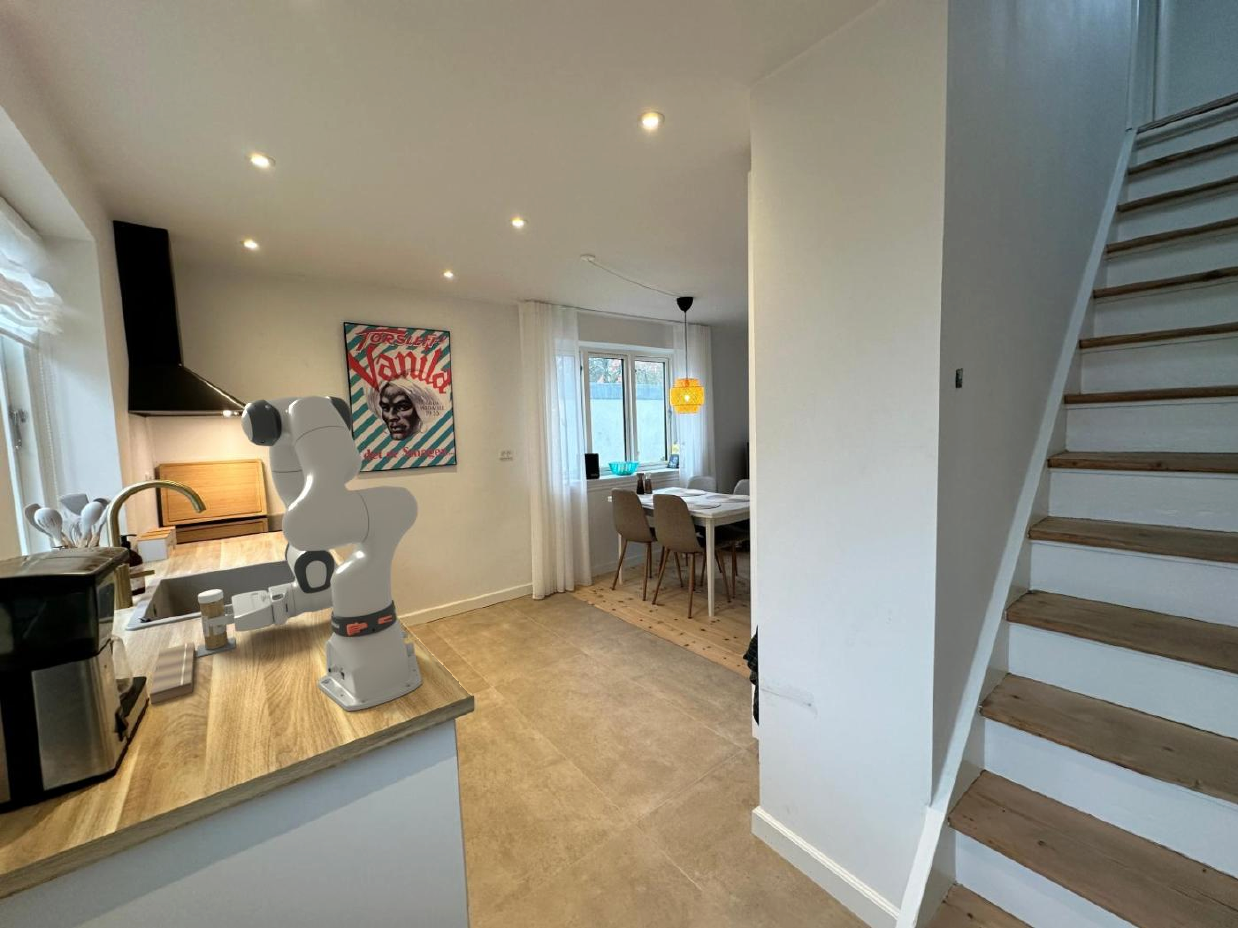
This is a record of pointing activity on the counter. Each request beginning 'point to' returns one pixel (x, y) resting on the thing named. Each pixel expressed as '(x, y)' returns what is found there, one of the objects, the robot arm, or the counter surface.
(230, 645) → the end pad
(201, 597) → the sprinkles bottle
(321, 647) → the counter surface
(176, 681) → the board
